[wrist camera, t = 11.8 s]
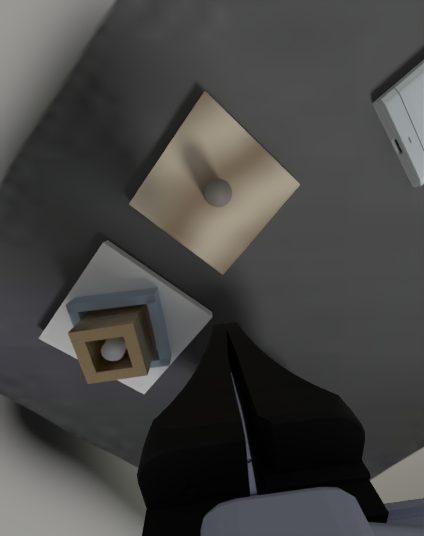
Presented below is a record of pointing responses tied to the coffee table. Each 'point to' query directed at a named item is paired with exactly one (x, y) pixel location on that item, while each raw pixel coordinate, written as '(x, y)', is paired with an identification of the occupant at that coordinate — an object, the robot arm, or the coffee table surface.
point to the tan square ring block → (112, 326)
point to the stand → (213, 186)
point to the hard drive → (406, 121)
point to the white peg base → (127, 294)
